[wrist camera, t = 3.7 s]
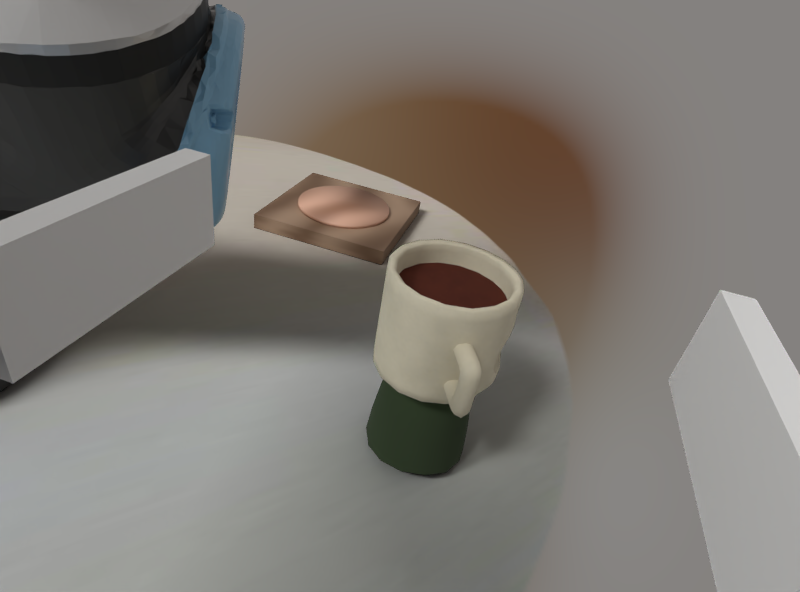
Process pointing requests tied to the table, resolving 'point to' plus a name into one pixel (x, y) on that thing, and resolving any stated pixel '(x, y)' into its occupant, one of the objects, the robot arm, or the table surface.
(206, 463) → the table surface
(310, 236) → the walnut board
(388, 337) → the character mug
